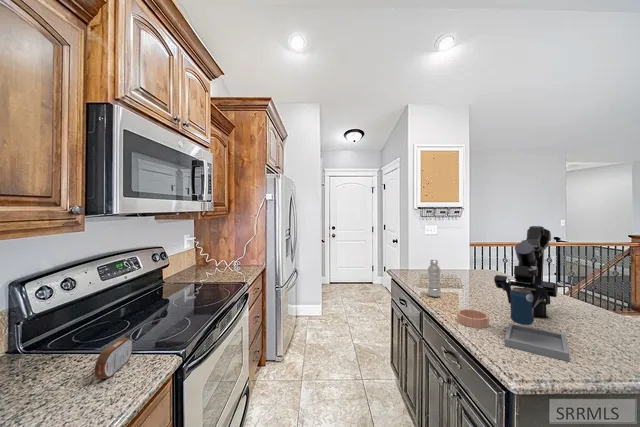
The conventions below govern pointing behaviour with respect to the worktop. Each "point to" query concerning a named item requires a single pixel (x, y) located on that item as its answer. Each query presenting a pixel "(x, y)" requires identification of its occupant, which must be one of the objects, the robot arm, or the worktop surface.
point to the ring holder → (473, 318)
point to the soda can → (522, 306)
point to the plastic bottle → (434, 279)
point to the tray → (537, 341)
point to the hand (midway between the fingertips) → (521, 305)
